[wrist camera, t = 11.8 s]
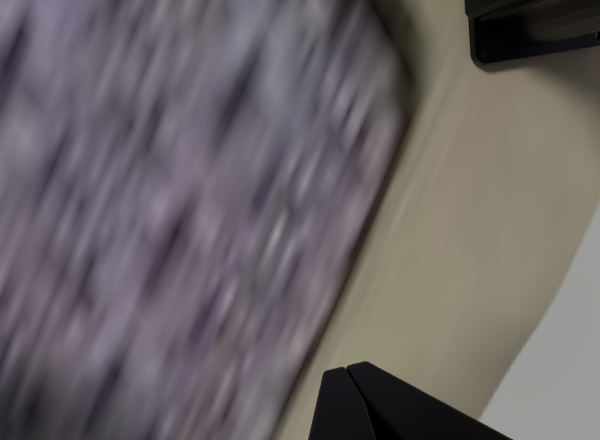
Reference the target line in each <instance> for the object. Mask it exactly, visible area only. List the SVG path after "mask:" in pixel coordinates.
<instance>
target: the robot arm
mask: <svg viewBox="0 0 600 440" xmlns="http://www.w3.org/2000/svg"><path fill="white" fill-rule="evenodd" d="M465 14H466V15H467V16H468V20H469V36H470V53H471V58H472V60H473V62H474V63H476V64H477V65H484V64H490V63H496V62H503V61H509V60H515V59H521V58H527V57H533V56H539V55H545V54H552V53H558V52H564V51H570V50H576V49H582V48H588V47H594V46H599V45H600V0H465ZM595 32H597V34H598V35H597V38H595ZM483 47H484V48H485V49H486V52H487V53H486V56H485V57H483V56H482V55H481V49H482V48H483ZM308 440H513V439H511V438H509V437H507V436H505V435H503V434H501V433H500V432H498V431H496V430H494V429H492V428H490V427H488V426H487V425H485V424H483V423H481V422H479V421H477V420H475V419H474V418H472V417H470V416H468V415H466V414H464V413H462V412H461V411H459V410H457V409H455V408H453V407H451V406H449V405H448V404H446V403H444V402H442V401H440V400H438V399H436V398H434V397H433V396H431V395H429V394H427V393H425V392H423V391H421V390H420V389H418V388H416V387H414V386H412V385H410V384H408V383H407V382H405V381H403V380H401V379H399V378H397V377H395V376H394V375H392V374H390V373H388V372H386V371H384V370H382V369H381V368H379V367H377V366H375V365H373V364H371V363H369V362H367V361H364V362H360V363H356V364H352V365H348V366H347V367H346V369H345V368H344V367H339V368H335V369H331V370H327V371H325V372H324V373H323V376H322V381H321V385H320V389H319V394H318V398H317V403H316V407H315V411H314V416H313V420H312V425H311V429H310V434H309V438H308Z"/></svg>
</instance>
